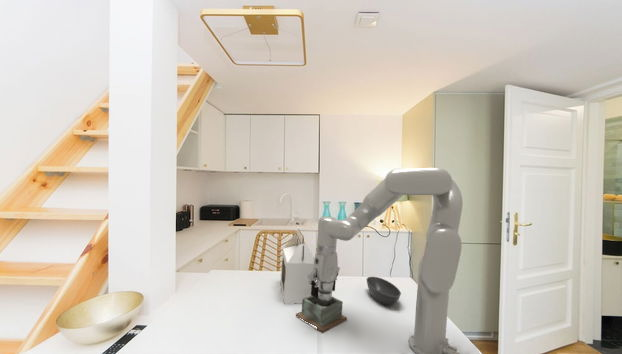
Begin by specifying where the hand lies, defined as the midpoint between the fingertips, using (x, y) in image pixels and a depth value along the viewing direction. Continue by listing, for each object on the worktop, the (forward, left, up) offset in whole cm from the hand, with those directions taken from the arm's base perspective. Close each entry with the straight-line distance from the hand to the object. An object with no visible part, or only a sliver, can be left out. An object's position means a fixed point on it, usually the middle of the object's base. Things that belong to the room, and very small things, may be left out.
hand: (323, 293), depth 103 cm
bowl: (-6, -35, -10) cm, 37 cm away
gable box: (+23, -7, -10) cm, 26 cm away
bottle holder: (0, 0, -10) cm, 10 cm away
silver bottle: (0, -1, -9) cm, 9 cm away
